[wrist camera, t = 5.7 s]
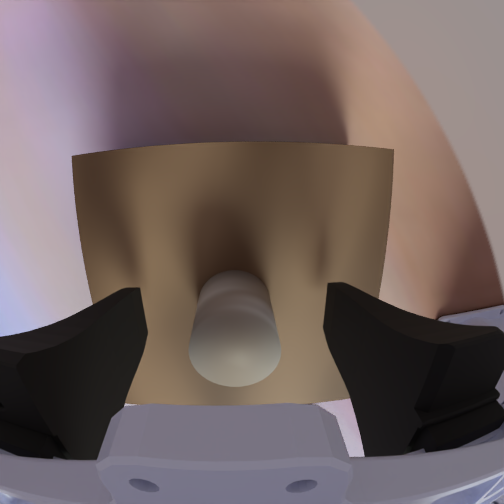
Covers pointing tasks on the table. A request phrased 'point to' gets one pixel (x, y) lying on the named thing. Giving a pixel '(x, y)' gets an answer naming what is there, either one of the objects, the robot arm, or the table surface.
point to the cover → (234, 260)
